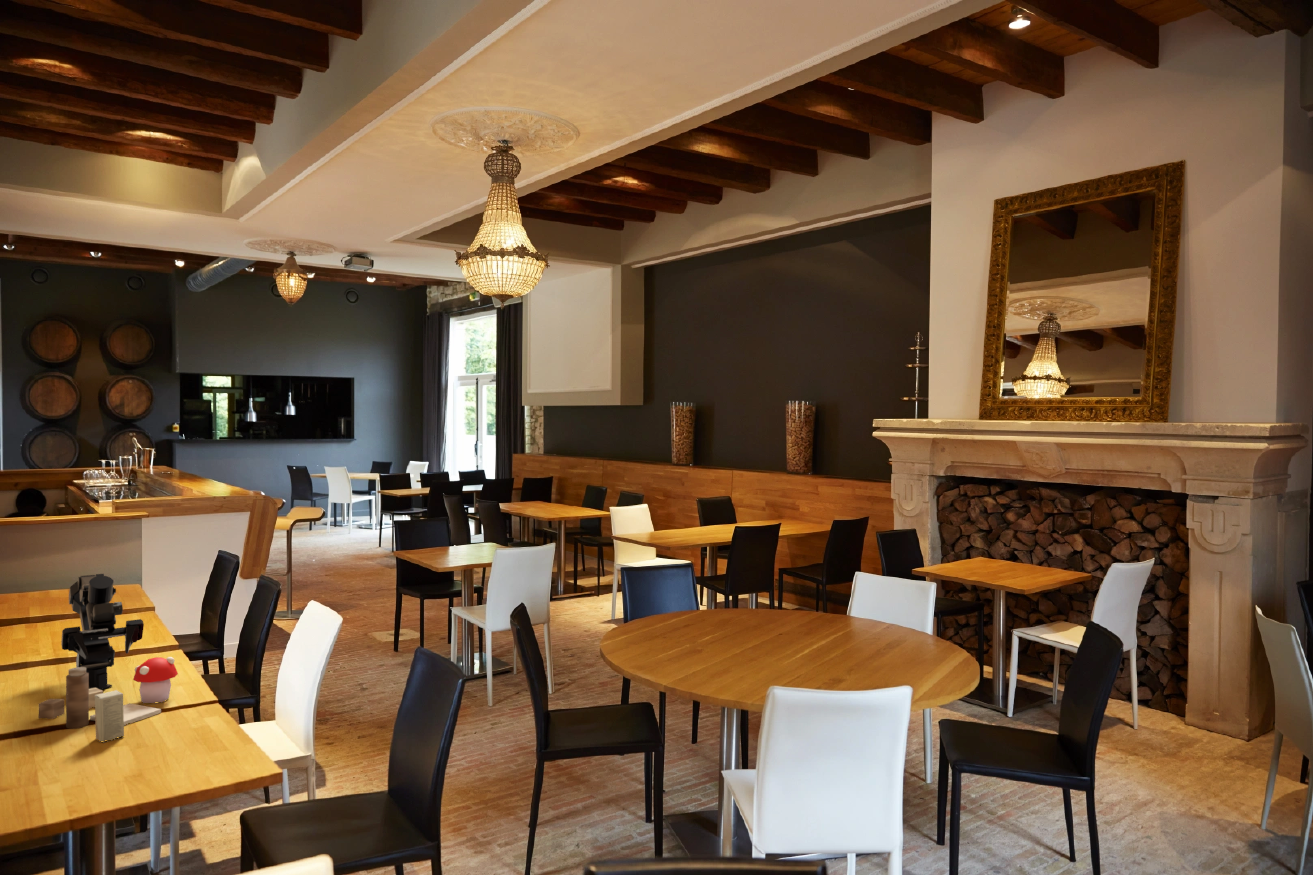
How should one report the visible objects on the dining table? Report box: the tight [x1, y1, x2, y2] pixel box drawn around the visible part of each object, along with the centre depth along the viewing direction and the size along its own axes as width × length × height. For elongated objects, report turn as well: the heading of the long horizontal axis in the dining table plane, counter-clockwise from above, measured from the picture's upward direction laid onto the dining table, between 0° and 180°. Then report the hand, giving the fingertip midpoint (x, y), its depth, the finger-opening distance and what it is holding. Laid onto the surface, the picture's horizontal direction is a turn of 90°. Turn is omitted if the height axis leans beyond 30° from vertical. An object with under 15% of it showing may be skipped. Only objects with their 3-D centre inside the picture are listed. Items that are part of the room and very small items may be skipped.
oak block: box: [89, 688, 104, 709], centre depth 235 cm, size 5×4×4 cm
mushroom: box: [132, 656, 179, 704], centre depth 240 cm, size 11×11×12 cm
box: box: [94, 689, 125, 742], centre depth 211 cm, size 5×4×11 cm
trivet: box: [89, 702, 162, 726], centre depth 227 cm, size 12×11×1 cm
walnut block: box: [38, 698, 65, 720], centre depth 227 cm, size 4×4×4 cm
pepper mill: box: [65, 666, 90, 730], centre depth 220 cm, size 5×5×14 cm
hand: (107, 655), depth 230 cm, fingers open, 9 cm apart
